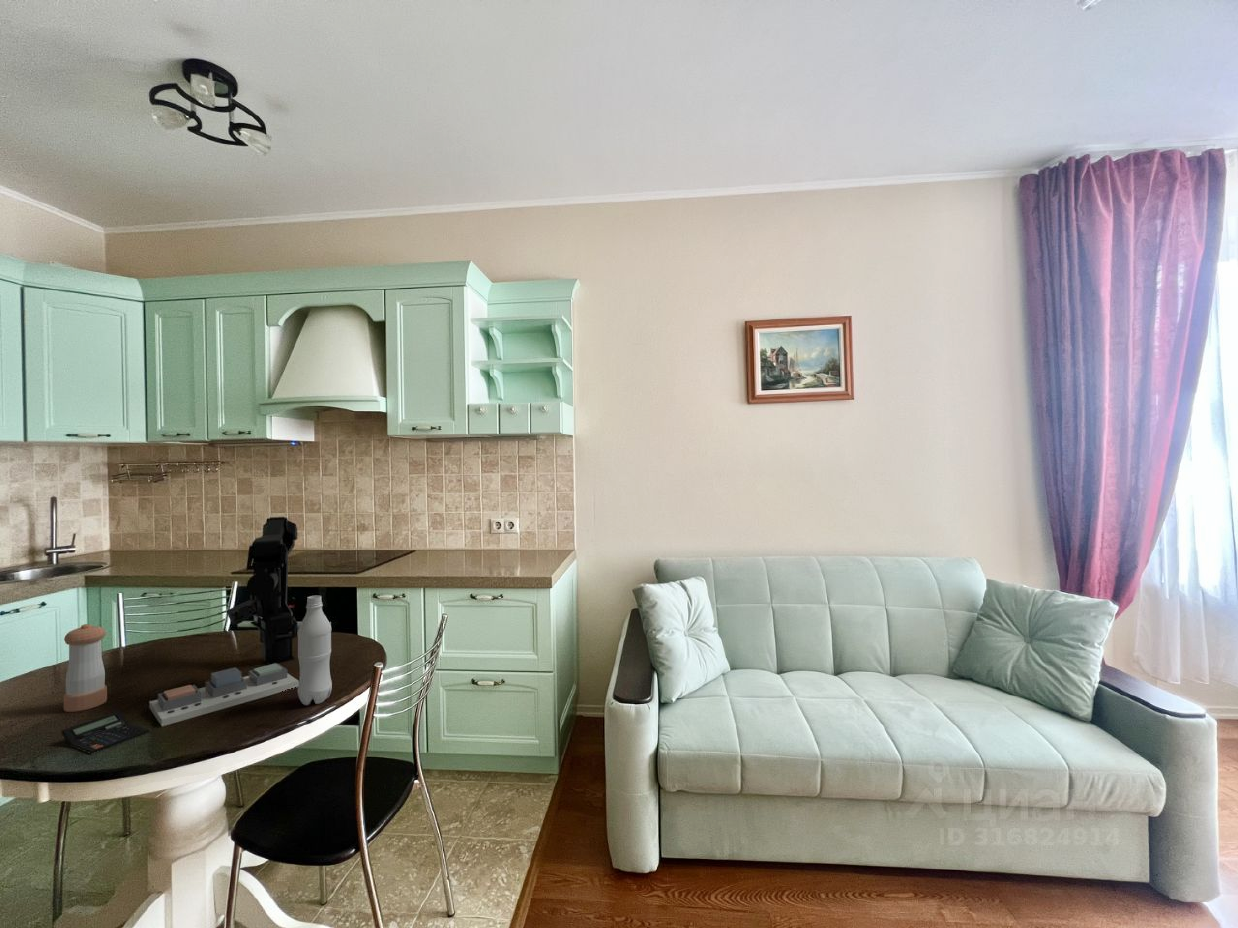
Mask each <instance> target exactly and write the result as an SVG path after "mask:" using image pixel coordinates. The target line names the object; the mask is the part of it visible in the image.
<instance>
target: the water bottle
mask: <svg viewBox="0 0 1238 928" xmlns="http://www.w3.org/2000/svg"><path fill="white" fill-rule="evenodd" d="M306 602H307V603H306V606H305V609H306V612H305V616H304V617H303V619H302V620H301V623H300V624H299V626H298V632H297V657H298V666H299V680H298V681H299V686H298V687H297V695H298V699H299V700H300V703H301V704H303V706H309V705H310V704H311V702H312V701H314V703H315V705H319V704H321V703H323V702H325V700H326V699H329V697H330V695H331V692H332V689H333V687H332V686H333V682H332V678H331V671H330V659H331V654H332V633H331V632H332V626H331V623H330V622H329V619H328V618H327V616H326V614H325V613H324V611H323V606H324V604H323V601H322V595H311V596H307V600H306Z"/></svg>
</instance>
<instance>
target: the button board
mask: <svg viewBox="0 0 1238 928" xmlns="http://www.w3.org/2000/svg"><path fill="white" fill-rule="evenodd" d="M276 664H277V665H279V666H280V667H282V671H278V672H274V673H270V674H267V675H263V676H257V675H256V674H255V673H254V669H251V670H248V675H246V676H242V675H241V681H240V682H236V683H232V684H229V685H225V686H221V687H217V688H215V687H214V686H213V685H212V684H211V680H209V681H205V686H203V687H201V688H198V687H197V686H196V685H195V684H193V685H192V684H191V686H192V687H193V688H194V689H195V690H196V693H194V694H191V695H187V696H183V697H179V698H175V699H172V700H168V701H166V700H165V699H164V692H161V693H160V692H159V693H157V699H155V700H149V701H148V702H149V710H150V711H151V713H152V714H153V716H154V717H155V718H156V720H157V721H158V724H160V726H161V727H165V726H168V725H172V724H176V723H179V722H182V721H186V720H190V719H193V718H196V717H199V716H203V715H206V714H209V713H213V712H217V711H220V710H224V709H227V708H230V707H234V706H237V705H240V704H244V703H247V702H251V701H254V700H258V699H262V698H265V697H268V696H272V695H275V694H278V693H281V692H282V691H283V692H286V691H288V690H287V689H290V690H292V689H291V688H293V689H296V688H298V686H299V680H298V679H297V678H295V677H294V676H293V675H291V674H290V673H288V669H287V668H286V667H284V666H282V665H281V664H280V663H276ZM295 687H296V688H295ZM285 690H286V691H285Z"/></svg>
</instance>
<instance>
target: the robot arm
mask: <svg viewBox="0 0 1238 928" xmlns="http://www.w3.org/2000/svg"><path fill="white" fill-rule="evenodd" d="M288 519H289V518H288V517H286V516H277V517H275V516H274V517H273V516H272V517H268V518H266V523H265V524H263V525H262V536H260V537H257V538H254V540H253V541H252V544H251V545H249V548H248V554H247V561H246V571H250V570H251V571H253V574H252V576H251V577H249V579H248V581H247V582H246V590H247V592H248V593H249V595H250V598H249V599H248V600H247V601H244V602H242V603H239V604H237V605H235V606H234V607H233V606H232V607H231V608H229V609H228V610H226V612H225V613H226V614H227V616H228V619H229V620H230V623H233V625H235V626H236V625H239V624H241V623H243V622H244V621H246V620H248V619H250V618H251V617H253V621H251V622H250V624H251V625H253V626H254V627H256V628H257V629H258V631H259V638H260V639H259V640H260V643H262V644H263V646H262V661H264V662H265V663H267V665H271V664H275V663H276V664H280V663H282V662H283V663H284V662H286V661H290V660H293V659H295V658H296V656H294V655H293V639H295V638H298V636H297V632H298V629H299V626H298V621H296V619H295V617H294V616H293V615H294V613H293V610H292V609H291V608H290V607H289V605H288V582H289V581H288V580H289V578H288V577H289V576H288V575H289V555H290V553H291V552H292V551H293V549H294V547H295V542H296V541H298V527H297V524H296V523H294V522H293V521H291V520H288Z"/></svg>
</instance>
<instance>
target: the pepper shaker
mask: <svg viewBox="0 0 1238 928" xmlns="http://www.w3.org/2000/svg"><path fill="white" fill-rule="evenodd" d="M106 633H107V632H106V630H105V628H104V627H102V626H98V625H90V623H89V624H88V623H85V624H82V625H81V626H80V627H78V628H75V629H72V630H71V631H69V632H67V633H66V635H65V636H64V639H63V640H64V643H65V644H66V645H68V665H67V670H66V674H65V693H64V694H63V711H64V712H66V713H67V712H69V713H70V712H71V713H72V712H81V711H85V710H90V709H92V708H96V707H99V706H100V705H103V704H105V703H107V701H108V700H107V699H108V695H107V694H108V688H107V687H108V686H107V685H106V684H105V682H106V681H105V679H106V671H105V670H106V669H105V666H104V662H103V658H102V657H103V655H102V639H104V638H105V637H106Z"/></svg>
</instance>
